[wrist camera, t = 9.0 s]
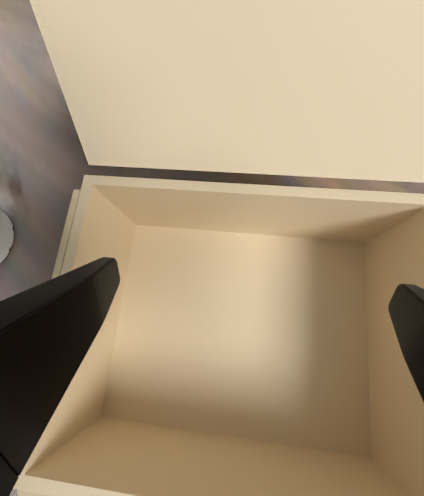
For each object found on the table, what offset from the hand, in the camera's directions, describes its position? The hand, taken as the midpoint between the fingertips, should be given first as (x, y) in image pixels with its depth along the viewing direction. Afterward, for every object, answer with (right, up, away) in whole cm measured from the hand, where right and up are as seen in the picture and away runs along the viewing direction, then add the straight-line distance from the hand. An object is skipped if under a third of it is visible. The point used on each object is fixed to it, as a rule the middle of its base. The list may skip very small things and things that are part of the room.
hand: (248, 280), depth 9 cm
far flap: (+1, +8, +3) cm, 9 cm away
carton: (+1, -5, +12) cm, 13 cm away
